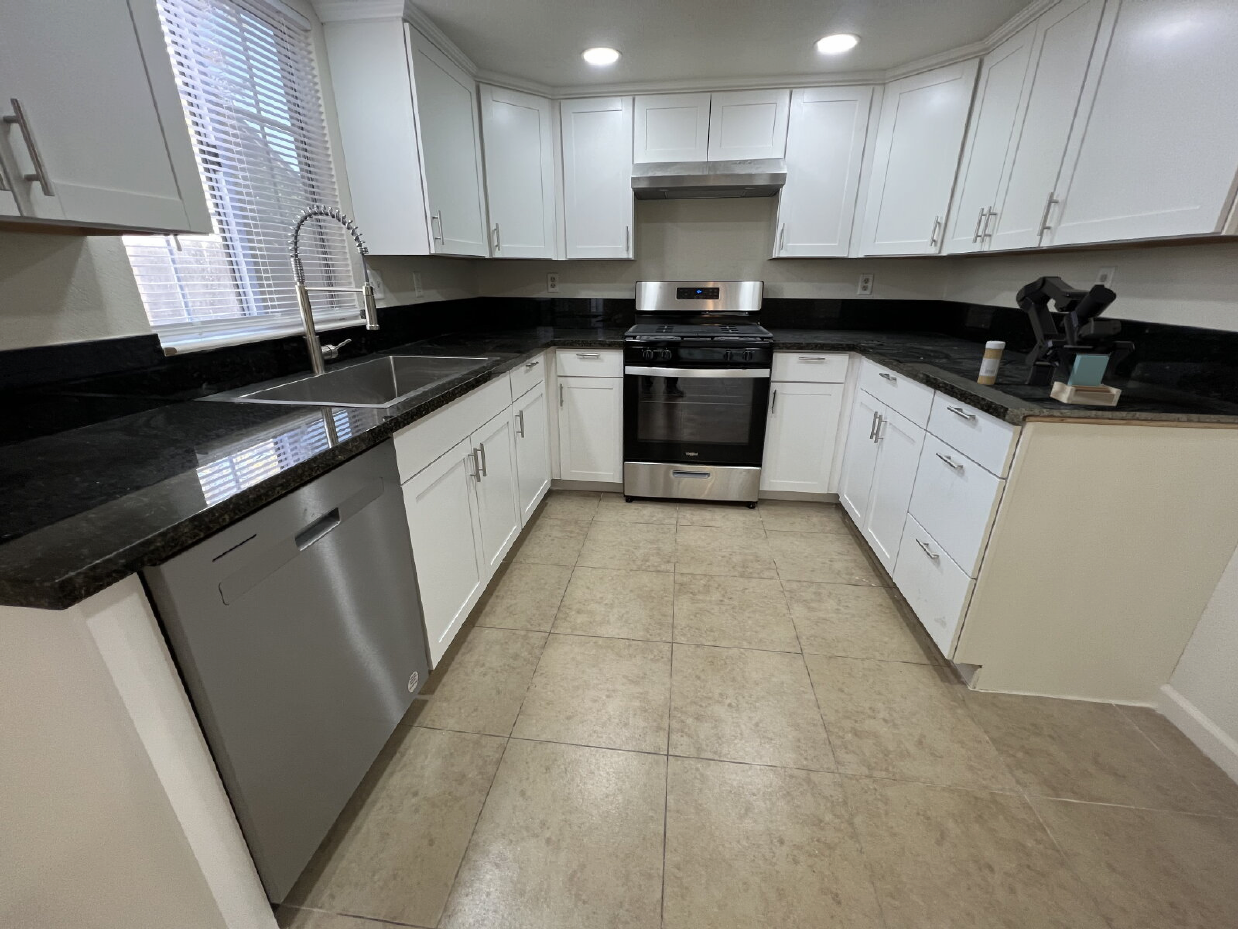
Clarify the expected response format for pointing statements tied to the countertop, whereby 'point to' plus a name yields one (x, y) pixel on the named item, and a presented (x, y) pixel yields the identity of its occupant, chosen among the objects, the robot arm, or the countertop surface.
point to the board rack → (1084, 395)
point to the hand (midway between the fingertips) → (1089, 377)
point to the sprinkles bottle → (991, 362)
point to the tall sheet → (1088, 370)
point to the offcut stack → (1090, 388)
